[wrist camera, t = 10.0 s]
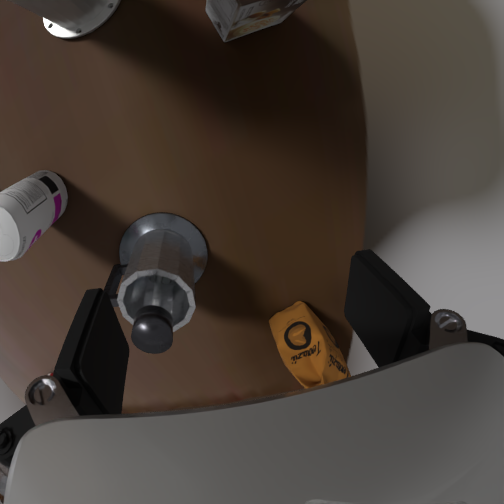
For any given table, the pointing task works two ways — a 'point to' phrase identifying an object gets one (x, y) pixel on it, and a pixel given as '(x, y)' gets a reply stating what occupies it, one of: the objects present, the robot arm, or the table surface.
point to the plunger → (153, 322)
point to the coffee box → (248, 15)
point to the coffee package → (307, 346)
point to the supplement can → (29, 212)
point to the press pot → (159, 266)
